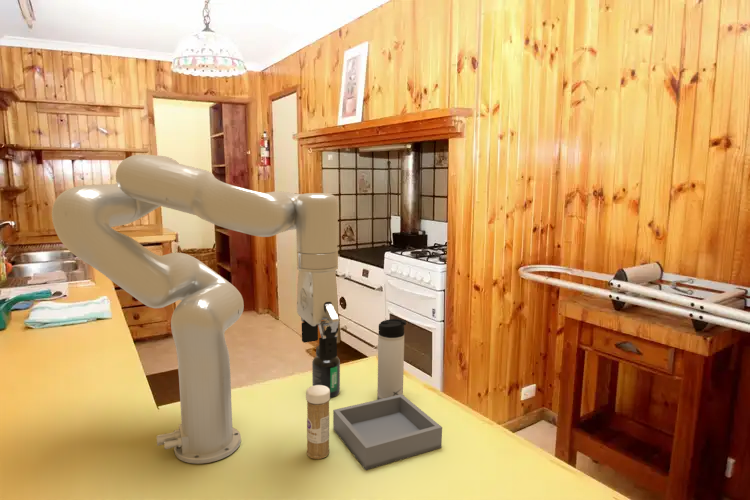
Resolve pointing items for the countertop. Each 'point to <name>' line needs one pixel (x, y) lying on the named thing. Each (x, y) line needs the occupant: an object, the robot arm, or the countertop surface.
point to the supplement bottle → (326, 373)
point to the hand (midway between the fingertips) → (318, 349)
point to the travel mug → (390, 358)
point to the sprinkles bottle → (318, 421)
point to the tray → (386, 431)
